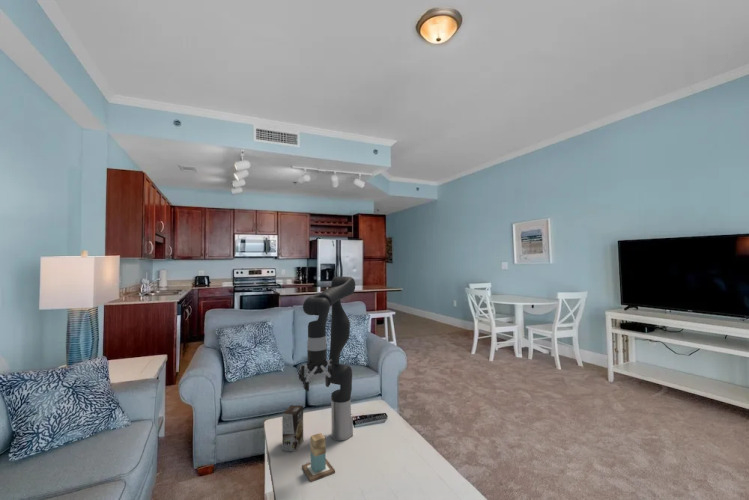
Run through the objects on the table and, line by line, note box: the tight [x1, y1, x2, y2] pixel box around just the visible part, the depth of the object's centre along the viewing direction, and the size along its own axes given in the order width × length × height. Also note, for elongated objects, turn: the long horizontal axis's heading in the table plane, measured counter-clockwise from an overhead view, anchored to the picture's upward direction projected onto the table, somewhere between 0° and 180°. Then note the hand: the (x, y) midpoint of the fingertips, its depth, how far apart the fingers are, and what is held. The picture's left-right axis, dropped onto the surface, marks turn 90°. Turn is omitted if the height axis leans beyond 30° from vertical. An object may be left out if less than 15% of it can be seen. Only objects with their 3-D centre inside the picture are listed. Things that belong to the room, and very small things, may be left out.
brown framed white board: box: [301, 458, 336, 483], centre depth 132 cm, size 10×10×1 cm
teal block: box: [310, 451, 327, 472], centre depth 132 cm, size 4×4×6 cm
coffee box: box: [281, 405, 304, 452], centre depth 150 cm, size 9×6×16 cm
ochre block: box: [310, 432, 327, 457], centre depth 132 cm, size 4×4×6 cm
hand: (317, 388), depth 133 cm, fingers open, 8 cm apart
